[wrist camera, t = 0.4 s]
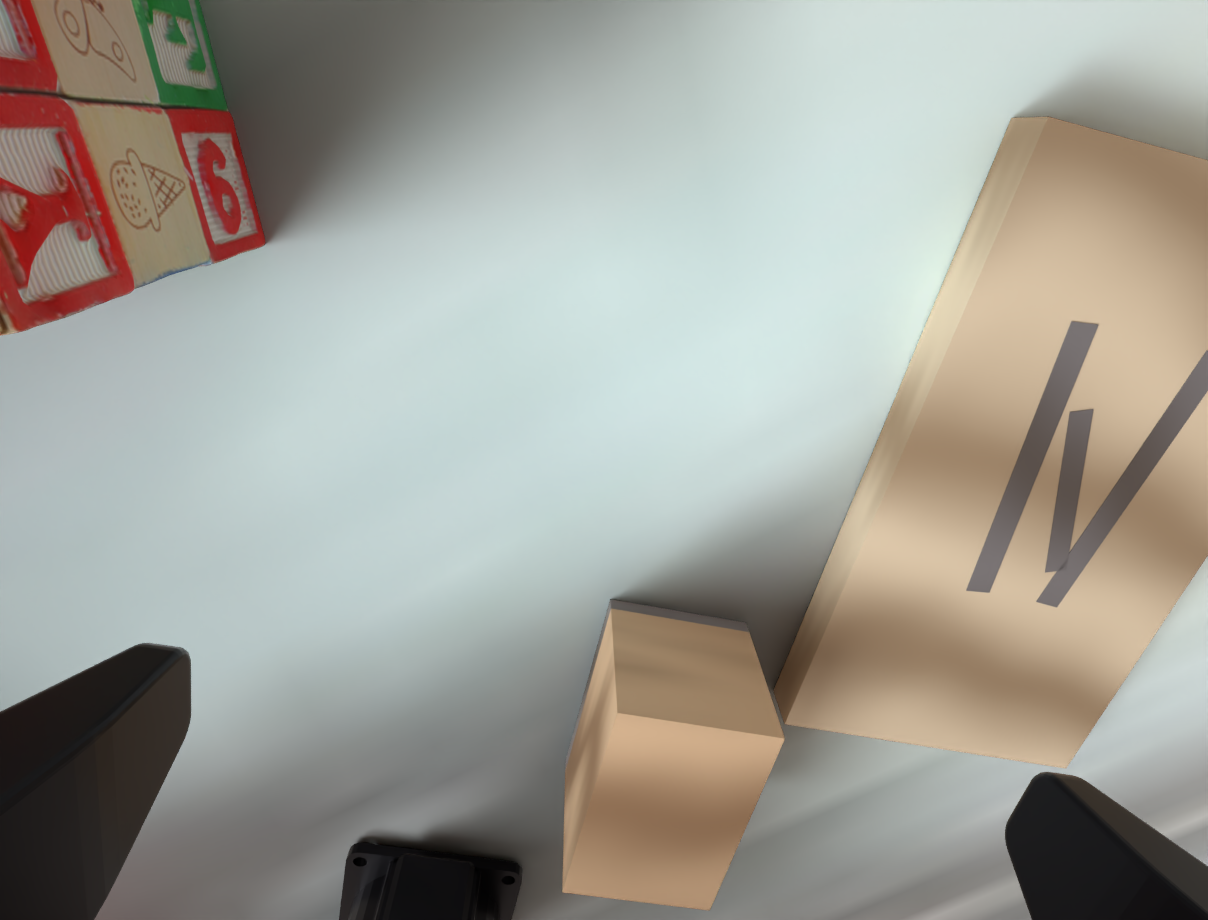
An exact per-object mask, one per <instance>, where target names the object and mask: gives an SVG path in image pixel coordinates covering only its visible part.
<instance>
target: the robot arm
mask: <svg viewBox="0 0 1208 920" xmlns="http://www.w3.org/2000/svg"><path fill="white" fill-rule="evenodd" d="M190 718H191V660H190V656H189V653H188V652H187V651H186V650H185V649H183V648H181V647H174V646H167V645H160V644H153V643H142V644H138V645H135V646H133V647H131V648H129V649H127V650H125V651H123V652H121V653H119V654H117V655H115V656H113V657H111V658H109V659H107V660H104V661H102V662H100V663H98V664H96V665H94V666H92V667H90V668H88V669H86V670H84V671H82V672H80V673H78V674H76V675H74V676H72V677H70V678H68V679H66V680H64V681H62V682H60V683H58V684H56V685H54V686H52V687H50V688H48V689H46V690H44V691H42V692H39V693H37V694H35V695H33V696H31V697H29V698H27V699H25V700H23V701H21V702H19V703H17V704H15V705H13V706H11V707H9V708H7V709H5V710H3V711H1V712H0V920H94V919H95V917H96V915H97V913H98V912H99V910H100V908H101V907H102V905H103V903H104V901H105V900H106V898H107V896H108V894H109V892H110V890H111V888H112V886H113V884H114V882H115V880H116V878H117V876H118V875H119V873H120V871H121V869H122V867H123V864H124V862H125V860H126V858H127V856H128V854H129V852H130V850H131V848H132V846H133V844H134V842H135V840H136V838H137V836H138V834H139V832H140V830H141V828H142V825H143V823H144V821H145V819H146V817H147V815H148V813H149V811H150V809H151V807H152V805H153V803H154V801H155V799H156V797H157V795H158V793H159V791H160V788H161V786H162V784H163V782H164V780H165V778H166V776H167V774H168V772H169V770H170V768H171V766H172V764H173V762H174V760H175V758H176V756H177V754H178V752H179V749H180V747H181V745H182V743H183V741H184V739H185V736H186V734H187V731H188V727H189V724H190ZM1005 840H1006V846H1007V849H1008V852H1009V855H1010V858H1011V861H1012V864H1013V867H1014V870H1015V872H1016V875H1017V878H1018V881H1019V884H1020V887H1021V890H1022V892H1023V895H1024V898H1025V901H1026V904H1027V907H1028V910H1029V913H1030V915H1031V918H1032V920H1208V866H1207V865H1205V864H1204V863H1202V862H1201V861H1200V860H1198V859H1197V858H1195V857H1194V856H1192V855H1191V854H1189V853H1188V852H1187V851H1185V850H1184V849H1182V848H1181V847H1179V846H1178V845H1177V844H1175V843H1174V842H1172V841H1171V840H1169V839H1168V838H1167V837H1165V836H1164V835H1162V834H1161V833H1159V832H1158V831H1157V830H1155V829H1154V828H1152V827H1151V826H1149V825H1148V824H1147V823H1145V822H1144V821H1142V820H1141V819H1139V818H1138V817H1137V816H1135V815H1134V814H1132V813H1131V812H1129V811H1128V810H1127V809H1125V808H1124V807H1122V806H1121V805H1119V804H1118V803H1117V802H1115V801H1114V800H1112V799H1111V798H1109V797H1108V796H1107V795H1105V794H1104V793H1102V792H1101V791H1099V790H1098V789H1097V788H1095V787H1094V786H1092V785H1091V784H1089V783H1088V782H1086V781H1085V780H1083V779H1081V778H1079V777H1076V776H1072V775H1066V774H1059V773H1052V772H1043V773H1040V774H1038V775H1036V776H1035V777H1034V778H1033V779H1032V780H1031V782H1030V784H1029V785H1028V787H1027V789H1026V790H1025V792H1024V794H1023V796H1022V797H1021V799H1020V801H1019V802H1018V804H1017V806H1016V807H1015V809H1014V811H1013V813H1012V814H1011V816H1010V818H1009V819H1008V822H1007V824H1006V829H1005ZM521 882H522V868H521V866H520V865H519V864H517V863H515V862H510V861H502V860H495V859H487V858H479V857H471V856H463V855H455V854H448V853H440V852H432V851H424V850H416V849H408V848H401V847H393V846H385V845H377V844H369V843H357V844H354V845H353V846H351V848H350V850H349V853H348V856H347V859H346V866H345V874H344V883H343V891H342V899H341V907H340V916H339V920H511V919H512V915H513V912H514V908H515V904H516V901H517V897H518V893H519V889H520V886H521Z"/></svg>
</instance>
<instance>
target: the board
mask: <svg viewBox="0 0 1208 920" xmlns="http://www.w3.org/2000/svg"><path fill="white" fill-rule="evenodd" d="M1207 556H1208V160H1205V159H1201V158H1197V157H1194V156H1190V155H1187V154H1183V153H1179V152H1176V151H1172V150H1168V149H1165V148H1161V147H1157V146H1154V145H1150V144H1146V143H1143V142H1139V141H1136V140H1132V139H1128V138H1125V137H1121V136H1117V135H1114V134H1110V133H1106V132H1103V131H1099V130H1095V129H1092V128H1088V127H1084V126H1081V125H1077V124H1074V123H1070V122H1066V121H1063V120H1059V119H1055V118H1052V117H1021V118H1011V120H1010V123H1009V125H1008V128H1007V130H1006V132H1005V135H1004V137H1003V140H1002V142H1001V144H1000V147H999V149H998V152H997V154H996V156H995V159H994V161H993V164H992V166H991V169H990V171H989V173H988V176H987V178H986V181H985V183H984V185H983V188H982V190H981V193H980V195H979V197H978V200H977V202H976V205H975V207H974V209H973V212H972V214H971V217H970V219H969V221H968V224H967V226H966V229H965V231H964V234H963V236H962V238H961V241H960V243H959V246H958V248H957V250H956V253H955V255H954V258H953V260H952V262H951V265H950V267H949V270H948V272H947V274H946V277H945V279H944V282H943V284H942V286H941V289H940V291H939V294H938V296H937V298H936V301H935V303H934V306H933V308H932V311H931V313H930V315H929V318H928V320H927V323H926V325H925V327H924V330H923V332H922V335H921V337H920V339H919V342H918V344H917V347H916V349H915V351H914V354H913V356H912V359H911V361H910V363H909V366H908V368H907V371H906V373H905V376H904V378H903V380H902V383H901V385H900V388H899V390H898V392H897V395H896V397H895V400H894V402H893V404H892V407H891V409H890V412H889V414H888V416H887V419H886V421H885V424H884V426H883V428H882V431H881V433H880V436H879V438H878V440H877V443H876V445H875V448H874V450H873V453H872V455H871V457H870V460H869V462H868V465H867V467H866V469H865V472H864V474H863V477H862V479H861V481H860V484H859V486H858V489H857V491H856V493H855V496H854V498H853V501H852V503H851V505H850V508H849V510H848V513H847V515H846V518H845V520H844V522H843V525H842V527H841V530H840V532H839V534H838V537H837V539H836V542H835V544H834V546H833V549H832V551H831V554H830V556H829V558H828V561H827V563H826V566H825V568H824V570H823V573H822V575H821V578H820V580H819V582H818V585H817V587H816V590H815V592H814V595H813V597H812V599H811V602H810V604H809V607H808V609H807V611H806V614H805V616H804V619H803V621H802V623H801V626H800V628H799V631H798V633H797V635H796V638H795V640H794V643H793V645H792V647H791V650H790V652H789V655H788V657H787V660H786V662H785V664H784V667H783V669H782V672H781V674H780V676H779V679H778V681H777V684H776V686H775V688H774V694H775V697H776V700H777V703H778V706H779V709H780V712H781V715H782V718H783V721H784V724H786V725H793V726H799V727H805V728H812V729H818V730H825V731H831V732H837V733H844V734H850V735H856V736H863V737H869V738H875V739H882V740H888V741H894V742H901V743H907V744H914V745H920V746H926V747H933V748H939V749H945V750H952V751H958V752H964V753H971V754H977V755H983V756H990V757H996V758H1003V759H1009V760H1015V761H1022V762H1028V763H1034V764H1041V765H1047V766H1053V767H1060V768H1067V766H1068V765H1069V763H1070V762H1071V760H1072V759H1073V757H1074V756H1075V754H1076V753H1077V751H1078V750H1079V748H1080V747H1081V745H1082V744H1083V742H1084V741H1085V739H1086V738H1087V736H1088V735H1089V733H1090V732H1091V730H1092V729H1093V727H1094V726H1095V724H1096V723H1097V721H1098V719H1099V718H1100V716H1101V715H1102V713H1103V712H1104V710H1105V709H1106V707H1107V706H1108V704H1109V703H1110V701H1111V700H1112V698H1113V697H1114V695H1115V694H1116V692H1117V691H1118V689H1119V688H1120V686H1121V685H1122V683H1123V682H1124V680H1125V679H1126V677H1127V676H1128V674H1129V673H1130V671H1131V670H1132V668H1133V667H1134V665H1135V664H1136V662H1137V661H1138V659H1139V658H1140V656H1141V655H1142V653H1143V652H1144V650H1145V649H1146V647H1147V646H1148V644H1149V643H1150V641H1151V640H1152V638H1153V637H1154V635H1155V634H1156V632H1157V631H1158V629H1159V628H1160V626H1161V625H1162V623H1163V622H1164V620H1165V619H1166V617H1167V616H1168V614H1169V613H1170V611H1171V610H1172V608H1173V607H1174V605H1175V604H1176V602H1177V601H1178V599H1179V598H1180V596H1181V595H1182V593H1183V592H1184V590H1185V589H1186V587H1187V586H1188V584H1189V583H1190V581H1191V580H1192V578H1193V577H1194V575H1195V574H1196V572H1197V571H1198V569H1199V568H1200V566H1201V565H1202V563H1203V562H1204V560H1205V559H1206V557H1207Z"/></svg>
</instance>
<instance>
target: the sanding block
mask: <svg viewBox="0 0 1208 920" xmlns="http://www.w3.org/2000/svg"><path fill="white" fill-rule="evenodd" d="M784 740H785V737H784V734H783V731H782V728H781V725H780V722H779V719H778V716H777V713H776V710H775V707H774V704H773V701H772V698H771V695H770V692H769V690H768V687H767V684H766V681H765V678H764V675H763V672H762V669H761V666H760V663H759V660H758V657H757V654H756V651H755V648H754V645H753V642H752V639H751V636H750V633H749V630H748V627H747V624H746V623H745V622H739V621H734V620H728V619H722V618H716V617H711V616H705V615H699V614H693V613H688V612H682V611H676V610H670V609H664V608H659V607H653V606H647V605H641V604H636V603H630V602H624V601H618V600H613V599H610V602H609V606H608V609H607V613H606V616H605V620H604V624H603V627H602V631H601V634H600V638H599V642H598V645H597V649H596V652H595V656H594V660H593V663H592V667H591V670H590V674H589V677H588V681H587V685H586V688H585V692H584V695H583V699H582V703H581V706H580V710H579V713H578V717H577V721H576V724H575V728H574V731H573V735H572V739H571V742H570V746H569V749H568V753H567V757H566V764H565V804H564V844H563V885H562V892H563V893H571V894H579V895H587V896H595V897H604V898H612V899H620V900H628V901H636V902H644V903H653V904H661V905H669V906H677V907H685V908H693V909H701V910H710V909H711V906H712V904H713V902H714V899H715V897H716V895H717V893H718V890H719V888H720V886H721V883H722V881H723V879H724V877H725V874H726V872H727V870H728V868H729V865H730V863H731V861H732V858H733V856H734V854H735V852H736V849H737V847H738V845H739V842H740V840H741V838H742V836H743V833H744V831H745V829H746V826H747V824H748V822H749V820H750V817H751V815H752V813H753V811H754V808H755V806H756V804H757V801H758V799H759V797H760V795H761V792H762V790H763V788H764V785H765V783H766V781H767V779H768V776H769V774H770V772H771V769H772V767H773V765H774V763H775V760H776V758H777V756H778V754H779V751H780V749H781V747H782V744H783V742H784Z"/></svg>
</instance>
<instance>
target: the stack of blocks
mask: <svg viewBox="0 0 1208 920" xmlns="http://www.w3.org/2000/svg"><path fill="white" fill-rule="evenodd" d="M264 245H265V237H264V233H263V230H262V226H261V222H260V219H259V215H258V211H257V207H256V203H255V200H254V196H253V192H252V189H251V185H250V181H249V177H248V174H247V170H246V166H245V163H244V159H243V156H242V152H241V148H240V145H239V141H238V137H237V134H236V130H235V126H234V122H233V118H232V116H231V114H230V112H229V111H228V108H227V104H226V101H225V97H224V93H223V89H222V86H221V82H220V78H219V74H218V71H217V67H216V63H215V59H214V55H213V52H212V48H211V44H210V40H209V36H208V32H207V29H206V25H205V21H204V17H203V14H202V10H201V6H200V2H199V0H0V335H7V334H13V333H17V332H22V331H26V330H28V329H31V328H33V327H36V326H39V325H43V324H46V323H49V322H52V321H56V320H59V319H62V318H66V317H68V316H71V315H74V314H76V313H79V312H81V311H84V310H86V309H89V308H91V307H94V306H96V305H99V304H102V303H104V302H107V301H109V300H112V299H115V298H118V297H120V296H123V295H126V294H129V293H131V292H132V291H133V290H134V289H135V288H139V287H142V286H145V285H147V284H150V283H152V282H155V281H157V280H159V279H162V278H164V277H166V276H169V275H172V274H175V273H178V272H182V271H185V270H188V269H192V268H195V267H197V266H208V265H211V264H214V263H217V262H221V261H223V260H226V259H228V258H231V257H233V256H235V255H238V254H240V253H244V252H247V251H250V250H254V249H257V248H260V247H262V246H264Z"/></svg>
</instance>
